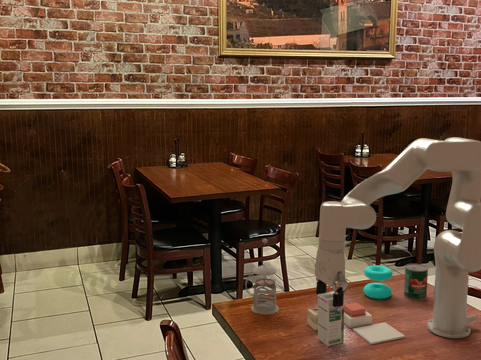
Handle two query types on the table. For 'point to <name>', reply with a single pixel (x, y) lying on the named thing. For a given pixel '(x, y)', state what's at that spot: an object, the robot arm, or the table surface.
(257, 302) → the french press
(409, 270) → the canned tomato
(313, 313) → the letter cube
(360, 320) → the button housing
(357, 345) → the table surface
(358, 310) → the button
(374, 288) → the donuts
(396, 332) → the grey pad
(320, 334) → the syrup box
